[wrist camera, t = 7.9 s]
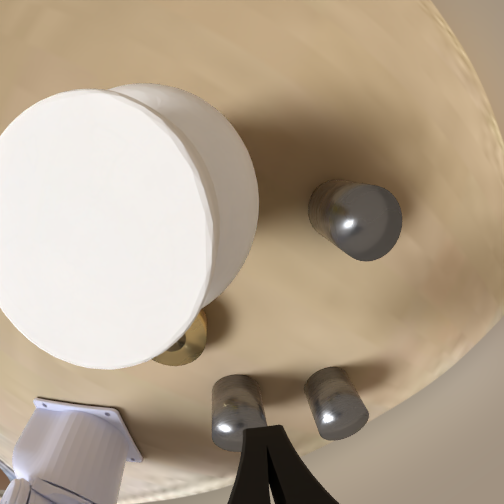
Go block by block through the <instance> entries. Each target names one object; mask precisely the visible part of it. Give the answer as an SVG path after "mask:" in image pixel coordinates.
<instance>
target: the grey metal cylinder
mask: <svg viewBox="0 0 504 504" xmlns="http://www.w3.org/2000/svg"><path fill="white" fill-rule="evenodd" d="M308 214H309V219H310V222H311V224H312V226H313V227H314V229H315V230H316V231H317V232H318V233H319V234H321V235H322V236H323V237H325V238H326V239H327V240H329V241H330V242H332V243H333V244H334V245H336V246H337V247H338V248H340V249H341V250H342V251H344V252H345V253H346V254H348V255H349V256H351V257H352V258H354V259H356V260H360V261H373V260H376V259H379V258H381V257H383V256H384V255H386V254H387V253H388V252H389V251H390V250H391V249H392V248H393V246H394V245H395V244H396V242H397V240H398V238H399V235H400V232H401V228H402V213H401V209H400V206H399V203H398V202H397V200H396V198H395V197H394V196H393V195H392V194H391V193H390V192H389V191H388V190H386V189H385V188H382V187H379V186H375V185H369V184H363V183H357V182H350V181H344V180H331V181H327V182H325V183H323V184H322V185H320V186H319V187H318V188H317V189H316V190H315V191H314V193H313V194H312V196H311V199H310V202H309V206H308Z"/></svg>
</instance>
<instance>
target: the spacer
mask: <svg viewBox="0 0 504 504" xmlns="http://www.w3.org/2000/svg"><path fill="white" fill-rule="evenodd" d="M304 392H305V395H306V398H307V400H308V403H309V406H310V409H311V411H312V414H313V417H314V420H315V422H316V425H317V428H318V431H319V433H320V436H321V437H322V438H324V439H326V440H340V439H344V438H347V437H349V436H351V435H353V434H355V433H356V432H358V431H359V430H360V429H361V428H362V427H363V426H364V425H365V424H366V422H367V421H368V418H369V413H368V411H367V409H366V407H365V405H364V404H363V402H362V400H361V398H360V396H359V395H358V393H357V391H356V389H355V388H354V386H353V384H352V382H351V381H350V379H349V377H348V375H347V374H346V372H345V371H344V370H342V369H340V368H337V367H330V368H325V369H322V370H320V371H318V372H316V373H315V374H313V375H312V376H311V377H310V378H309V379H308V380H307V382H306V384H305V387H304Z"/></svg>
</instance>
